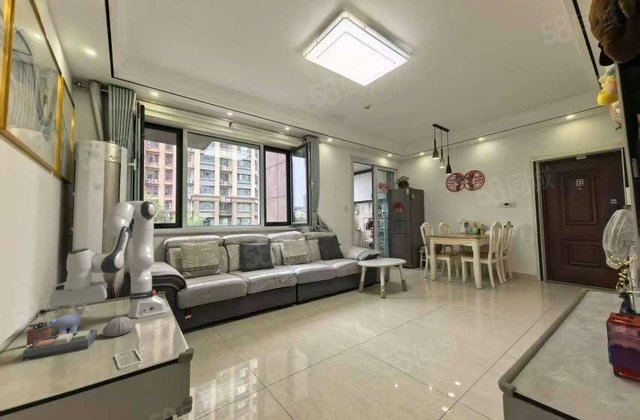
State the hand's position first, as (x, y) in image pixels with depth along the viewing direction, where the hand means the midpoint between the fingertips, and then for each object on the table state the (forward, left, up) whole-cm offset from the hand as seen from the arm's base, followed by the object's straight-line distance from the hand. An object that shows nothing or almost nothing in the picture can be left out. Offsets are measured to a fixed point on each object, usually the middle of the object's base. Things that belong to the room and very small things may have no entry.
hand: (79, 313), depth 124 cm
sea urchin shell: (-14, -8, -15) cm, 22 cm away
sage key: (-1, 0, -12) cm, 12 cm away
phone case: (-24, +29, -15) cm, 41 cm away
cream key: (+5, 0, -12) cm, 13 cm away
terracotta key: (+12, 0, -13) cm, 17 cm away
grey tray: (+5, 0, -15) cm, 16 cm away
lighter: (+18, -13, -15) cm, 27 cm away
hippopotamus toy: (+13, -26, -15) cm, 33 cm away
